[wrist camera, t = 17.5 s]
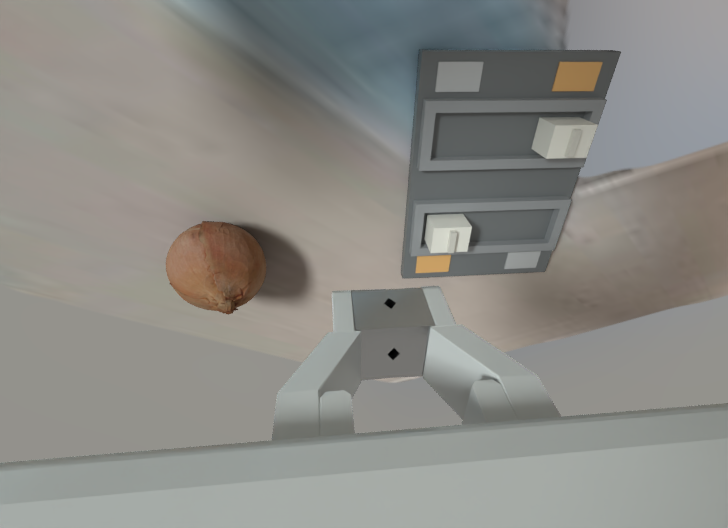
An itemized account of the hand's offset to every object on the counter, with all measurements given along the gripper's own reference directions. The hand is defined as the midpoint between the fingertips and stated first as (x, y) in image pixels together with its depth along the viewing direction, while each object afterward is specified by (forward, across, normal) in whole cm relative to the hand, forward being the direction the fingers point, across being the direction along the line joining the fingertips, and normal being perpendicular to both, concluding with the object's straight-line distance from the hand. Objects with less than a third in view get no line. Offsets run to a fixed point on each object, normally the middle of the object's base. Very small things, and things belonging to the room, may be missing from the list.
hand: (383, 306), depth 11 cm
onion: (+29, +13, +15) cm, 35 cm away
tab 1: (+28, -11, +13) cm, 33 cm away
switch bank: (+29, -16, +8) cm, 34 cm away
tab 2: (+28, -21, +3) cm, 35 cm away
